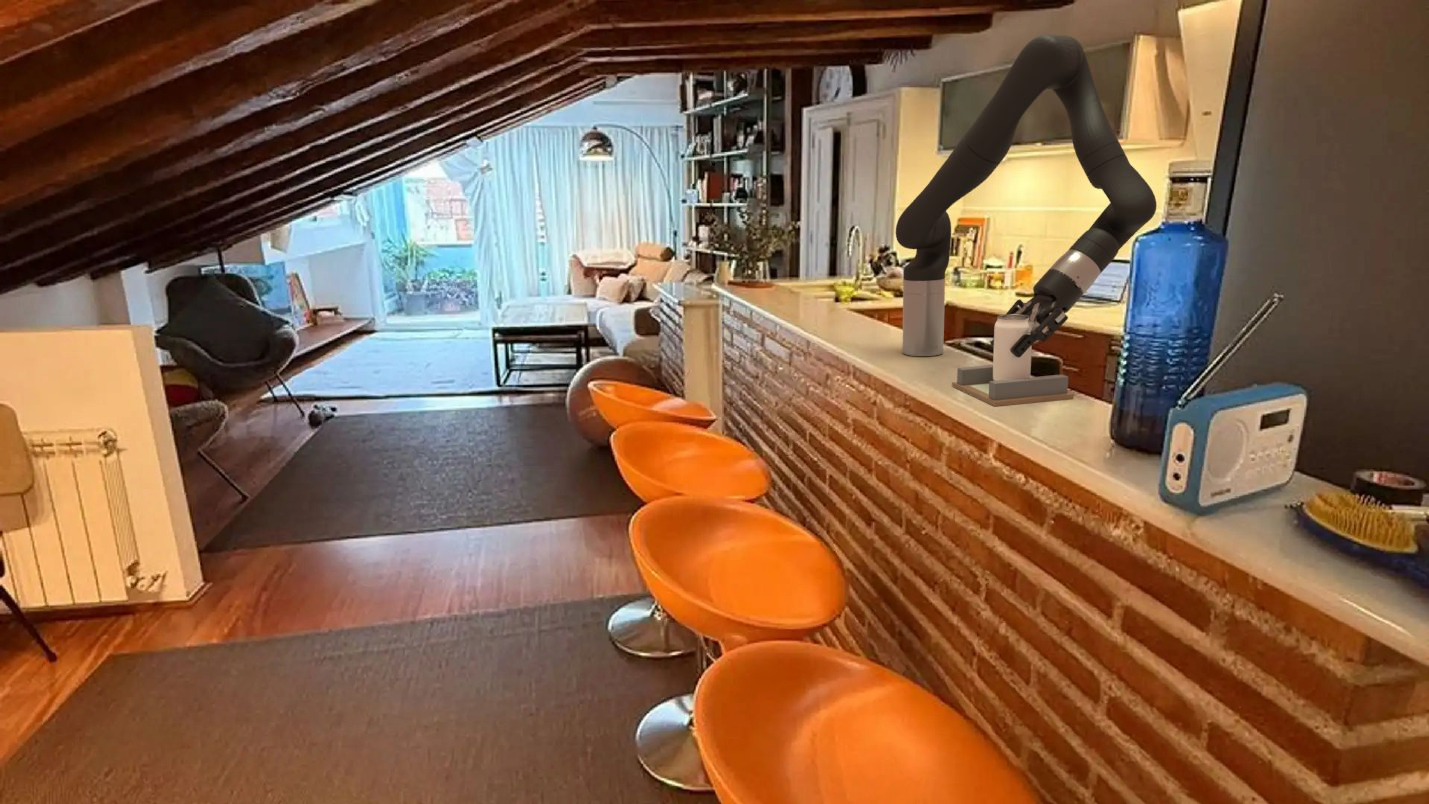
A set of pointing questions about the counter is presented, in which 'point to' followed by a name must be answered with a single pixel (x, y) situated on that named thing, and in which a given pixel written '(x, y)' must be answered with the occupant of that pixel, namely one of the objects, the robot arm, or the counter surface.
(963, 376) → the twin rail tray
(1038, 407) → the counter surface
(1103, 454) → the counter surface
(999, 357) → the can
